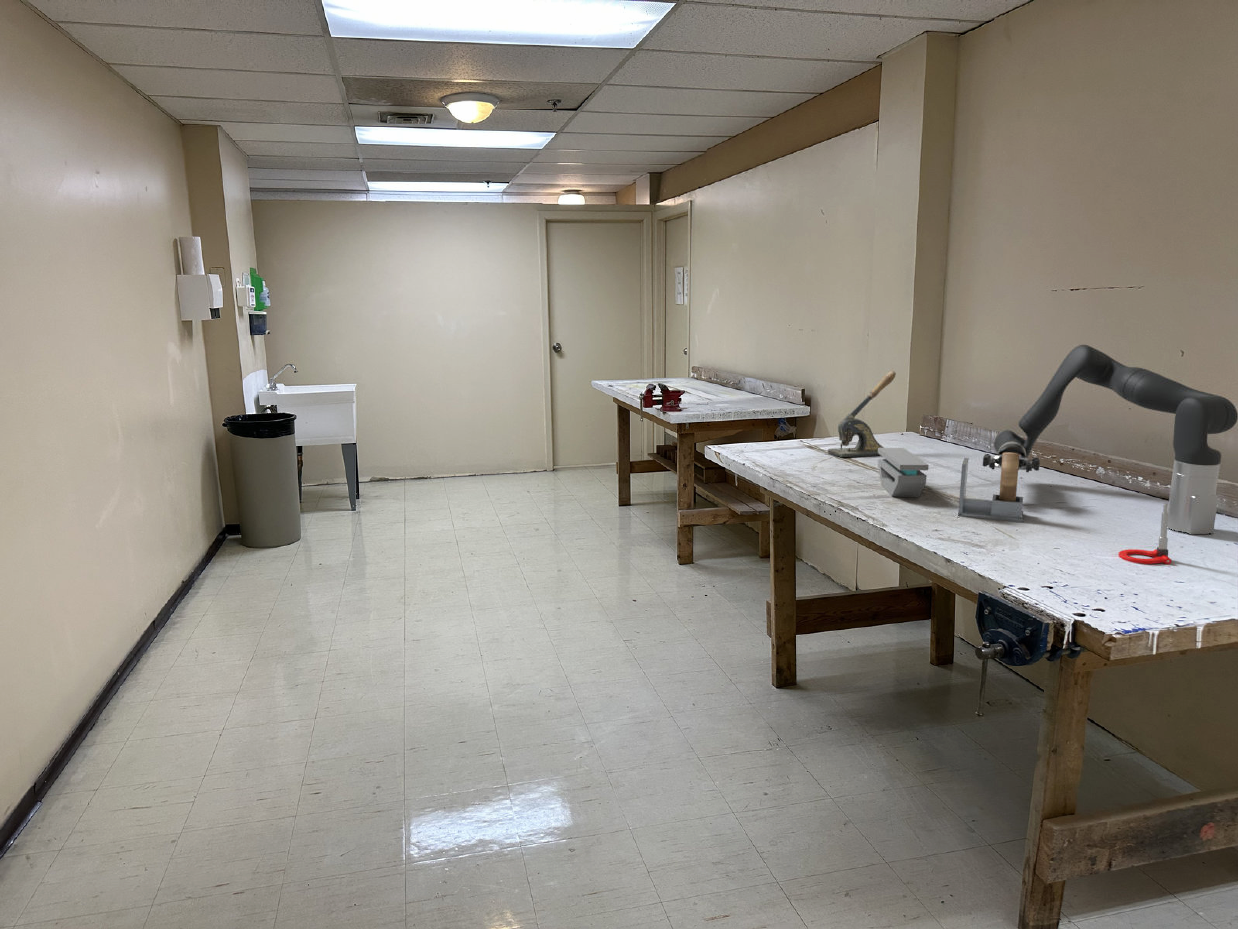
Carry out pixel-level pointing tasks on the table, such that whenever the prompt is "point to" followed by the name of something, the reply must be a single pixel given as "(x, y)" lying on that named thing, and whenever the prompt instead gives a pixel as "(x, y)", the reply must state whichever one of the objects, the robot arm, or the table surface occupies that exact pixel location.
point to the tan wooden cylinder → (1009, 477)
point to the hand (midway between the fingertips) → (1010, 467)
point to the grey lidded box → (901, 472)
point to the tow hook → (1158, 553)
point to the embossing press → (860, 428)
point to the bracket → (987, 504)
